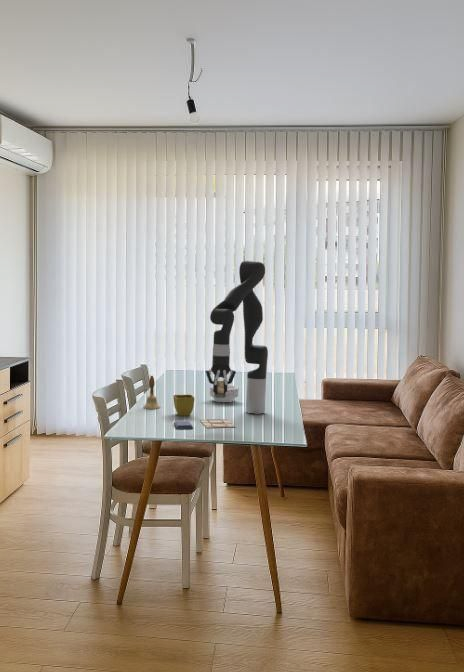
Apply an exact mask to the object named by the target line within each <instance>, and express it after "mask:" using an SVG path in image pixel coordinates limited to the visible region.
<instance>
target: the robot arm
mask: <svg viewBox="0 0 464 672" xmlns="http://www.w3.org/2000/svg"><path fill="white" fill-rule="evenodd" d="M238 269H239V270H238V273H239V281H240V284H238V285H237V286H235V287H233V288H232V289H231V290H230V291H229V292H228V294H227V295H226V296H225V297H224V299H223V300H222V301H220V302H219V303H218V304H217V305H216V306H215V307H214V308H213V309H212V311H211V312H210V316H209V319H210V322H211V323H212V324H213V325H217V326H218V325H219V326H221V329H218V330H215V331H214V332H213V345H212V363H211V364H212V365H211V368H210V369H207V370H205V375H206V377H207V380H208V383H210V384H211V385H212V386H213V392H215V394H217V381H219V379H220V378H222V379H223V380H222V381H224V393H226V392H227V385H232V382H233V381H234V378H235V375H236V373H237V372H236V370H234V369H231V367H230V357H231V356H230V354H231V349H230V348H231V347H230V336H231V331H232V329H233V325H234V321H235V314H234V312H236V311H237V310H238V308H239V307H240V305H241V304H242V312H243V313H242V316H243V327H244V360H245V362H246V363H247V364H252V365H258V367H257V368H255V369H252V370H249V371H248V372H247V374H246V375H247V377H246V378H247V379H246V408H245V412H246V413H247V412H248V413H247V414H249V413H255V414H254V415H260V414H259V413H264V412H265V413H266V394H267V393H266V391H267V389H266V386H267V370H268V369H267V368H268V355H269V350H268V347H267V346H266V345H260V344H253V341H254V340H253V339H254V337H255V334H256V333H257V331H258V330H259V328H260V327H261V325H262V323H263V320H264V319H263V318H264V314H263V311H264V310H263V306H262V303H261V301H260V299H259V298H258V296H257V295H256V293H255V292H254V289H255V288H256V286H257V285H258V284H260V283H261V282H262V280H263V279H264V277H265V274H266V266H265V264H264V263H263V262H260V261H255V260H243V261H241V262H240V265H239V268H238ZM212 374H213V378H212V376H211V375H212ZM228 374H229V377H227V376H228ZM265 413H264V414H265Z"/></svg>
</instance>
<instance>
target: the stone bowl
mask: <svg viewBox="0 0 464 672" xmlns="http://www.w3.org/2000/svg"><path fill="white" fill-rule="evenodd" d="M209 387H210V388H209V396H210V397H212V398H213V401H215V402H216V403H220V402H230V403H233V402H234V401H235V399H236V398H239V390H240V389H239V387H238V386H235V385H232V384H228V385H227V392H226V397H225V398H216V397H214V393H215V392H213V385H211V386H209ZM232 401H233V402H232Z"/></svg>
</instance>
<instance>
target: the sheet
mask: <svg viewBox="0 0 464 672" xmlns="http://www.w3.org/2000/svg"><path fill="white" fill-rule="evenodd" d="M199 421H200V423H201V424H202V425H203V426H204V427H205V429H226V428H227V429H229V428H234V429H235V428H236V426H235V425H234V424H233V422H231V421H230V420H229V419H228V418H214V419H210V418H209V419H205V418H204V419H202V418H201V419H199Z"/></svg>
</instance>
